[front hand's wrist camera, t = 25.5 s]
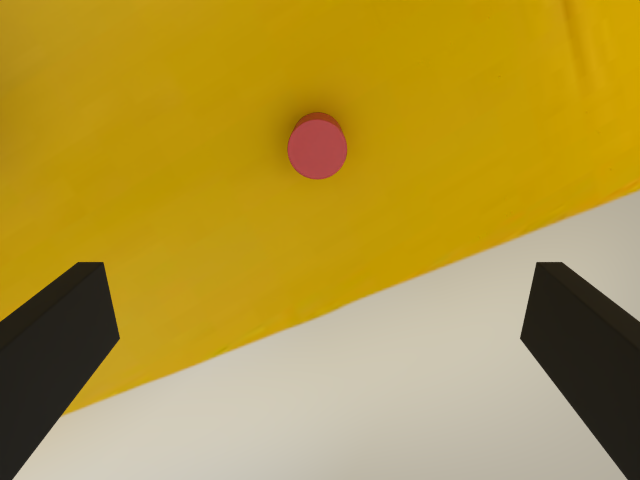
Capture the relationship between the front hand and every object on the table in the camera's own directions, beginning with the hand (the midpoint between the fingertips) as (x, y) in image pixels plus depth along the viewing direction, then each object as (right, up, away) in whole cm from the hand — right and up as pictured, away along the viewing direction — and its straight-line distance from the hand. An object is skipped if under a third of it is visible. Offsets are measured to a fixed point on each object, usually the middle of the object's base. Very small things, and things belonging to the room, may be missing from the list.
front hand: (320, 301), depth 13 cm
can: (0, +14, +37) cm, 39 cm away
